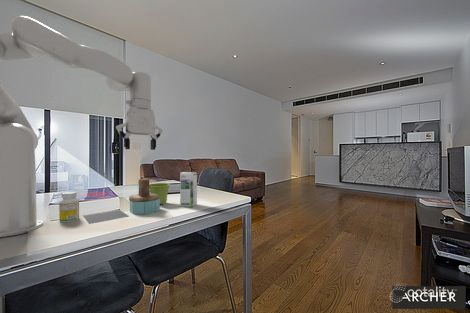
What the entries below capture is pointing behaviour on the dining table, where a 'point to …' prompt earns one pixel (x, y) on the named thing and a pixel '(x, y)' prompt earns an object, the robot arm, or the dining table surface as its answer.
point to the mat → (105, 216)
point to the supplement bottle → (69, 207)
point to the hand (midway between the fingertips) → (140, 149)
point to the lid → (143, 192)
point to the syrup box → (188, 189)
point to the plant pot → (160, 191)
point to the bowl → (145, 207)
